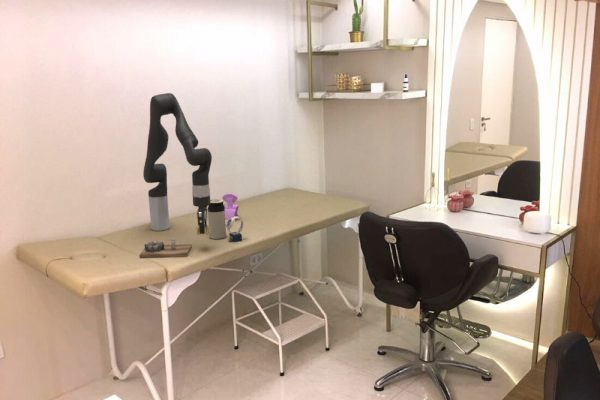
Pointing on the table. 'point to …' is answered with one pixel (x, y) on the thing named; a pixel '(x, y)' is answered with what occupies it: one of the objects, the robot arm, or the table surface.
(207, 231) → the brass gear
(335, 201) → the table surface
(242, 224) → the watch
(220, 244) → the table surface
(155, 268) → the table surface
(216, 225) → the travel mug
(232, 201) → the toy chair
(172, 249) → the gear board
